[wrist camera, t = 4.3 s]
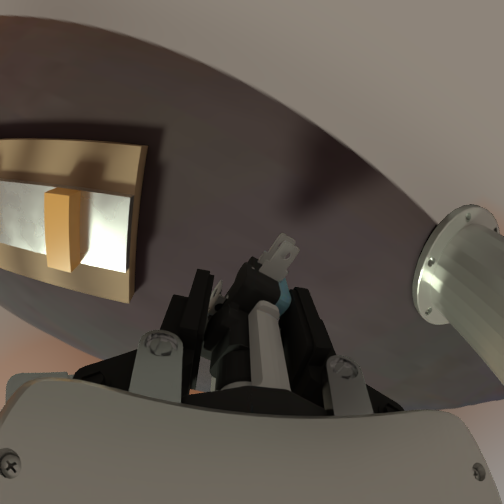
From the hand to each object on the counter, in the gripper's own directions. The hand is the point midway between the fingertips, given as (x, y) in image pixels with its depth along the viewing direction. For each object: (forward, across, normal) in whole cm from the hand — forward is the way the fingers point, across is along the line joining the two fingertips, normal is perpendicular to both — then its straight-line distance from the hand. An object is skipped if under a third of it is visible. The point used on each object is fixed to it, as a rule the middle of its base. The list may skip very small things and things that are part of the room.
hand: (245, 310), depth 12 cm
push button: (+2, 0, 0) cm, 2 cm away
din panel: (+7, +17, 0) cm, 19 cm away
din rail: (+6, +17, 0) cm, 18 cm away
